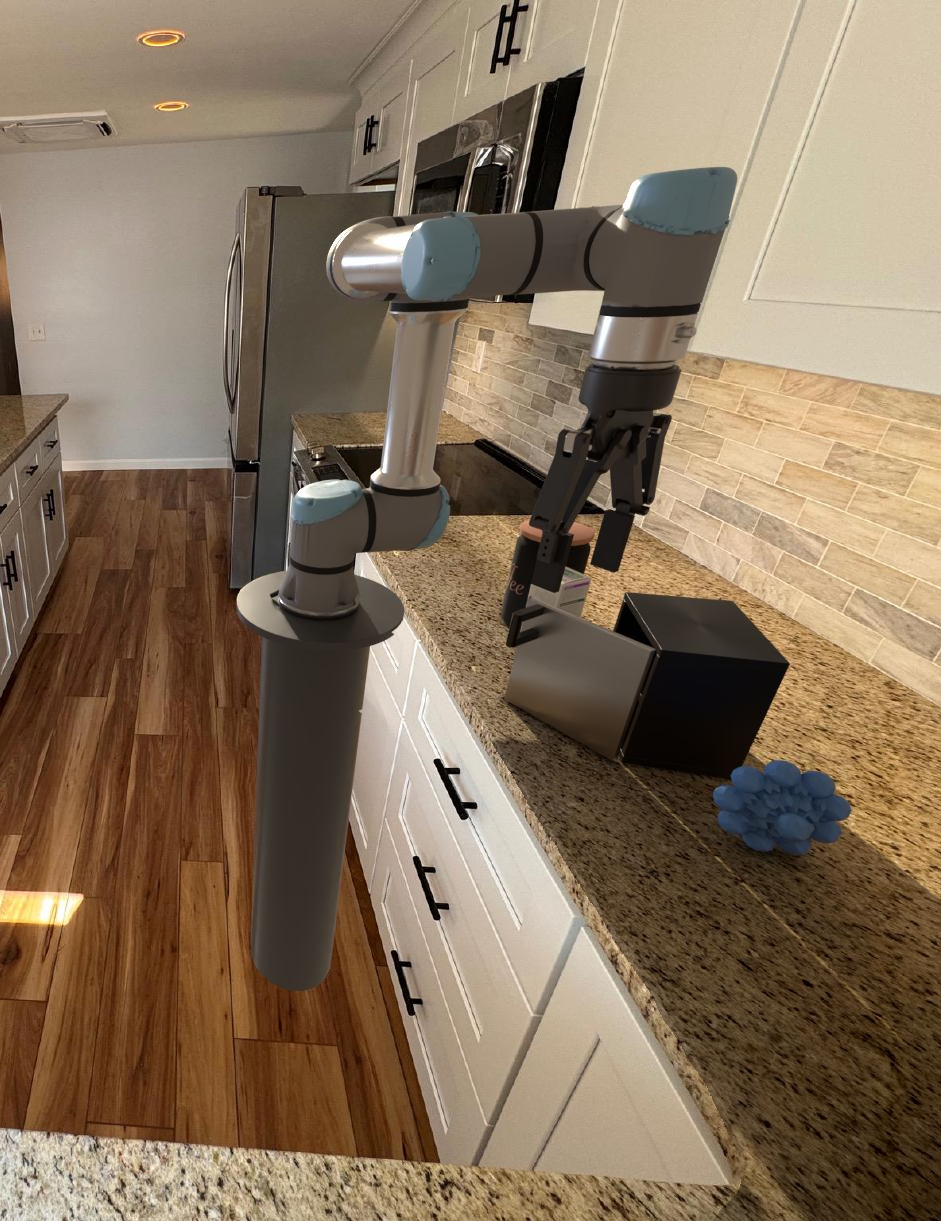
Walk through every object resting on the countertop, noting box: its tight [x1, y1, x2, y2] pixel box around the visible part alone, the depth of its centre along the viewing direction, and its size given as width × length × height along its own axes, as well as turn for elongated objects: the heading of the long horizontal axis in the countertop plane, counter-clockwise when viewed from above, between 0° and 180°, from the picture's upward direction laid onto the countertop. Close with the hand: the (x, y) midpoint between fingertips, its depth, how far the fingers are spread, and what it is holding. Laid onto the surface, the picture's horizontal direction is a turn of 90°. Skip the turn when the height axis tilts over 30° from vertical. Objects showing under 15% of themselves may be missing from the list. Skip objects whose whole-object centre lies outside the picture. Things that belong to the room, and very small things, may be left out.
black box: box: [612, 591, 791, 780], centre depth 87 cm, size 12×16×17 cm
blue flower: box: [712, 759, 852, 856], centre depth 70 cm, size 12×7×12 cm, turn 72°
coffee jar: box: [500, 519, 596, 632], centre depth 115 cm, size 11×11×18 cm
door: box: [503, 598, 656, 762], centre depth 89 cm, size 6×16×17 cm, turn 25°
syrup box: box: [520, 567, 592, 632], centre depth 107 cm, size 6×6×14 cm
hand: (575, 577), depth 74 cm, fingers open, 9 cm apart
